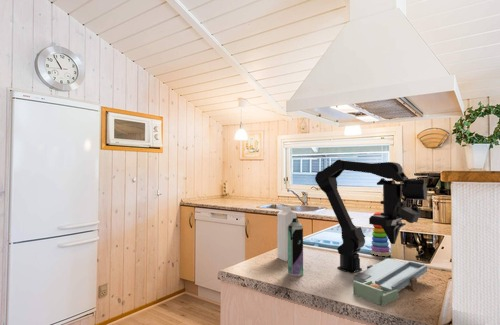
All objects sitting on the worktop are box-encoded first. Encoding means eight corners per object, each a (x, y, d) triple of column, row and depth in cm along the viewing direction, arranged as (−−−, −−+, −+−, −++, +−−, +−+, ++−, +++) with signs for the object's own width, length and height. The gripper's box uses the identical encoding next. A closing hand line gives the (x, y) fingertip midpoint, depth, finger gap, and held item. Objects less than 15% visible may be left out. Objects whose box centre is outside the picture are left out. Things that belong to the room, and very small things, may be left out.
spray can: (300, 277, 104) (299, 219, 105) (285, 274, 107) (285, 218, 108) (305, 272, 109) (304, 217, 110) (291, 270, 112) (290, 216, 113)
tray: (353, 294, 90) (353, 281, 90) (370, 288, 95) (370, 275, 95) (381, 305, 82) (381, 291, 82) (398, 298, 87) (398, 284, 87)
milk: (285, 261, 123) (284, 207, 124) (277, 257, 128) (276, 206, 129) (297, 259, 126) (296, 206, 126) (288, 255, 131) (288, 205, 132)
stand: (367, 275, 106) (367, 266, 106) (371, 274, 107) (371, 264, 107) (412, 290, 93) (412, 279, 93) (416, 288, 94) (416, 278, 94)
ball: (371, 295, 90) (364, 292, 88) (373, 283, 91) (367, 280, 89) (381, 299, 87) (375, 296, 85) (384, 287, 88) (378, 284, 86)
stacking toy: (384, 252, 137) (384, 210, 137) (393, 257, 129) (393, 213, 129) (367, 252, 137) (367, 211, 137) (375, 257, 129) (375, 213, 129)
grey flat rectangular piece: (354, 280, 100) (353, 273, 100) (387, 261, 111) (387, 255, 111) (394, 294, 89) (393, 286, 88) (427, 271, 100) (426, 264, 100)
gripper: (400, 201, 92) (401, 253, 91) (430, 198, 102) (430, 244, 102) (367, 199, 101) (368, 245, 100) (398, 196, 111) (398, 238, 111)
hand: (392, 243), depth 103 cm, fingers closed
